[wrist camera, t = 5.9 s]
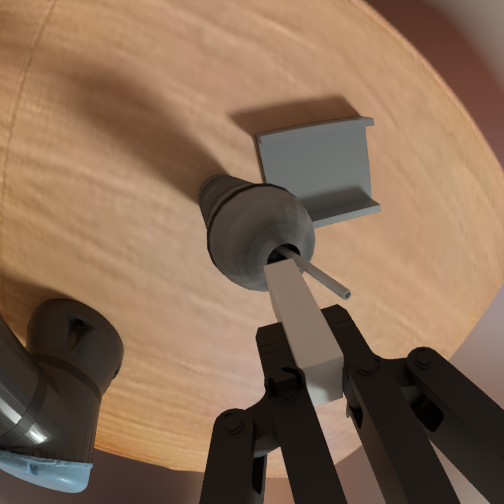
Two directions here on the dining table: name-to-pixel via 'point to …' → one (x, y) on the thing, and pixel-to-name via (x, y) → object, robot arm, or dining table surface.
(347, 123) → the cradle
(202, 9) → the dining table surface
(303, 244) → the beverage cup
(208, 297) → the dining table surface
